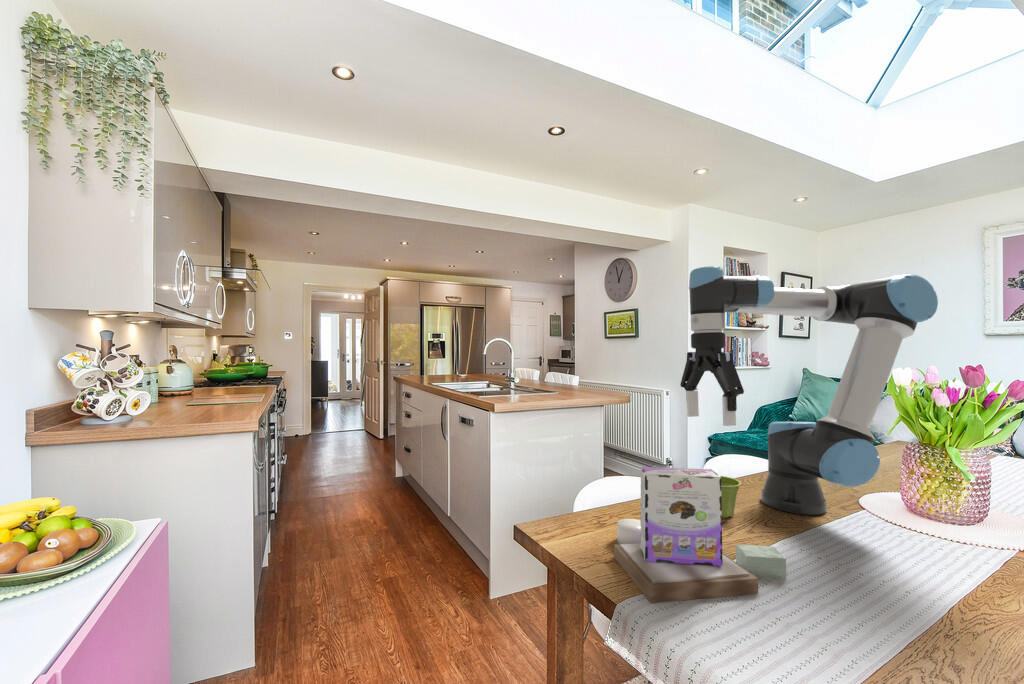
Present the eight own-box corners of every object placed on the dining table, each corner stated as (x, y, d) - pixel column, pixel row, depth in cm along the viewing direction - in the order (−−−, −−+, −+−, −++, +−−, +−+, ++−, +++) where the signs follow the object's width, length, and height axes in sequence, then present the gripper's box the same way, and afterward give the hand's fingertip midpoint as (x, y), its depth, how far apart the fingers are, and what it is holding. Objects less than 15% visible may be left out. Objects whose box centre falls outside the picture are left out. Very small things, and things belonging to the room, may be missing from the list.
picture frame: (703, 551, 91) (703, 536, 91) (758, 593, 75) (758, 576, 75) (613, 557, 88) (613, 542, 88) (650, 602, 72) (650, 584, 72)
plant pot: (743, 523, 106) (742, 487, 106) (701, 517, 110) (701, 483, 110) (738, 510, 115) (738, 477, 115) (700, 505, 118) (700, 473, 119)
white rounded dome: (641, 535, 99) (641, 517, 99) (656, 549, 92) (656, 530, 92) (612, 537, 98) (612, 519, 98) (625, 551, 91) (625, 532, 91)
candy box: (712, 553, 84) (712, 468, 84) (723, 568, 78) (723, 476, 78) (639, 547, 86) (639, 464, 86) (644, 562, 80) (644, 473, 80)
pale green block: (773, 566, 85) (773, 546, 85) (786, 580, 80) (786, 558, 80) (735, 564, 86) (735, 544, 86) (746, 577, 81) (746, 556, 81)
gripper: (665, 334, 115) (667, 413, 115) (729, 329, 91) (732, 430, 90) (690, 333, 116) (692, 412, 116) (760, 329, 92) (763, 428, 92)
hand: (710, 420), depth 103 cm, fingers open, 13 cm apart
